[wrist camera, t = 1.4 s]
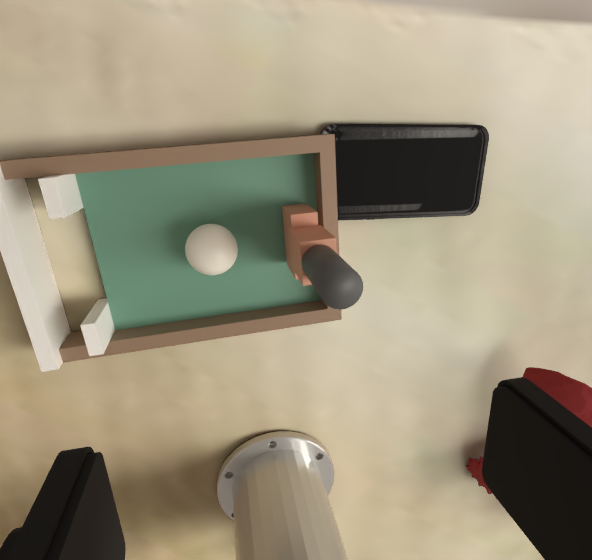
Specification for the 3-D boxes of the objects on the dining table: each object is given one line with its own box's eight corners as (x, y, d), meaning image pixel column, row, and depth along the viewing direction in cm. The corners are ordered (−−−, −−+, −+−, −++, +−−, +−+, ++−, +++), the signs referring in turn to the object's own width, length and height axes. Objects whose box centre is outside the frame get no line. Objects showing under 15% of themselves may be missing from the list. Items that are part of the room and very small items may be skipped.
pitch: (332, 306, 38) (348, 329, 34) (59, 346, 35) (36, 379, 30) (324, 134, 33) (342, 134, 28) (1, 160, 29) (-39, 165, 25)
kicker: (311, 261, 35) (363, 326, 23) (284, 264, 35) (322, 333, 23) (308, 203, 33) (362, 241, 21) (279, 206, 33) (318, 247, 21)
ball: (239, 263, 34) (242, 278, 31) (190, 269, 34) (188, 286, 30) (233, 216, 33) (235, 226, 29) (182, 222, 32) (178, 233, 29)
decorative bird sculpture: (493, 498, 59) (626, 539, 49) (477, 559, 53) (626, 620, 43) (460, 340, 48) (622, 354, 39) (436, 393, 42) (621, 426, 32)
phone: (321, 123, 32) (491, 125, 35) (318, 124, 33) (483, 125, 36) (319, 222, 35) (477, 216, 37) (316, 219, 36) (470, 214, 38)
